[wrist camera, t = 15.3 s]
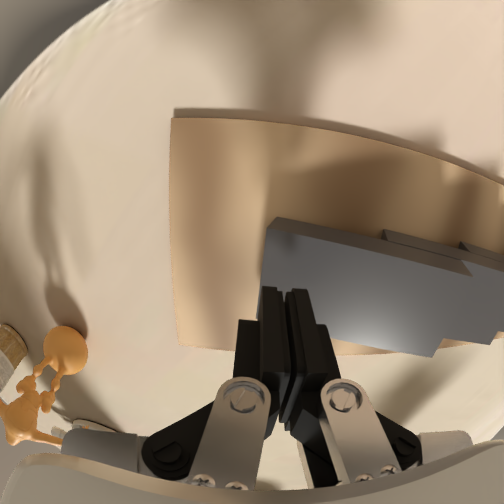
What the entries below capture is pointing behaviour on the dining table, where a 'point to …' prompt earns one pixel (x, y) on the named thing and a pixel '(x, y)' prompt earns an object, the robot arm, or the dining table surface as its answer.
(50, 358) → the figurine
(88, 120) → the dining table surface
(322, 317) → the domino
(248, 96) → the dining table surface
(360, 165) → the cork mat
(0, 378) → the sprinkles bottle
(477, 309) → the domino
